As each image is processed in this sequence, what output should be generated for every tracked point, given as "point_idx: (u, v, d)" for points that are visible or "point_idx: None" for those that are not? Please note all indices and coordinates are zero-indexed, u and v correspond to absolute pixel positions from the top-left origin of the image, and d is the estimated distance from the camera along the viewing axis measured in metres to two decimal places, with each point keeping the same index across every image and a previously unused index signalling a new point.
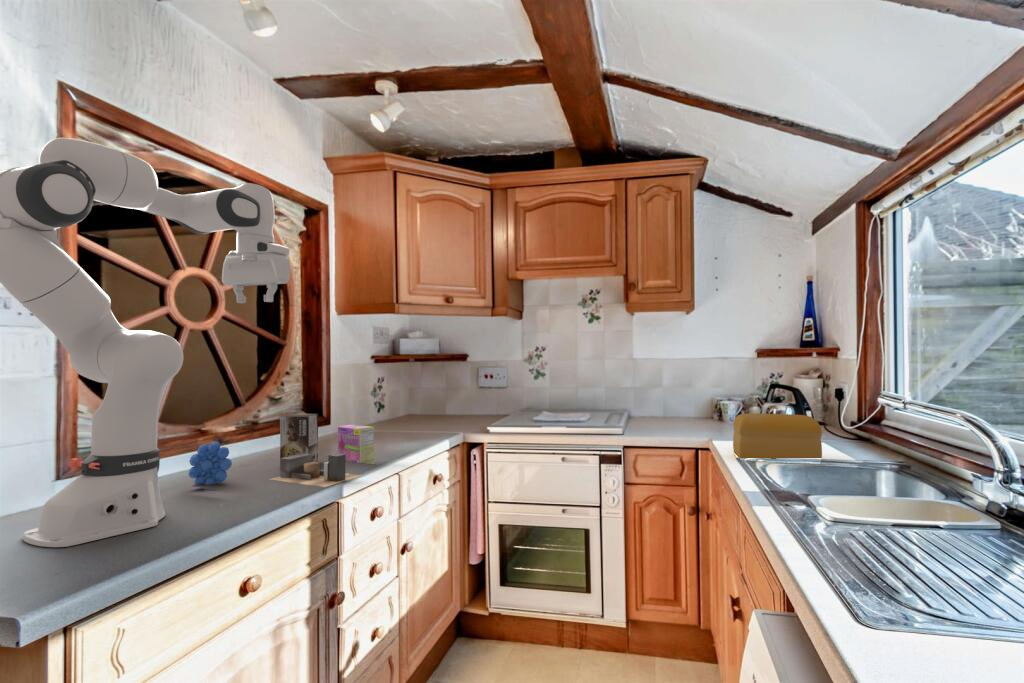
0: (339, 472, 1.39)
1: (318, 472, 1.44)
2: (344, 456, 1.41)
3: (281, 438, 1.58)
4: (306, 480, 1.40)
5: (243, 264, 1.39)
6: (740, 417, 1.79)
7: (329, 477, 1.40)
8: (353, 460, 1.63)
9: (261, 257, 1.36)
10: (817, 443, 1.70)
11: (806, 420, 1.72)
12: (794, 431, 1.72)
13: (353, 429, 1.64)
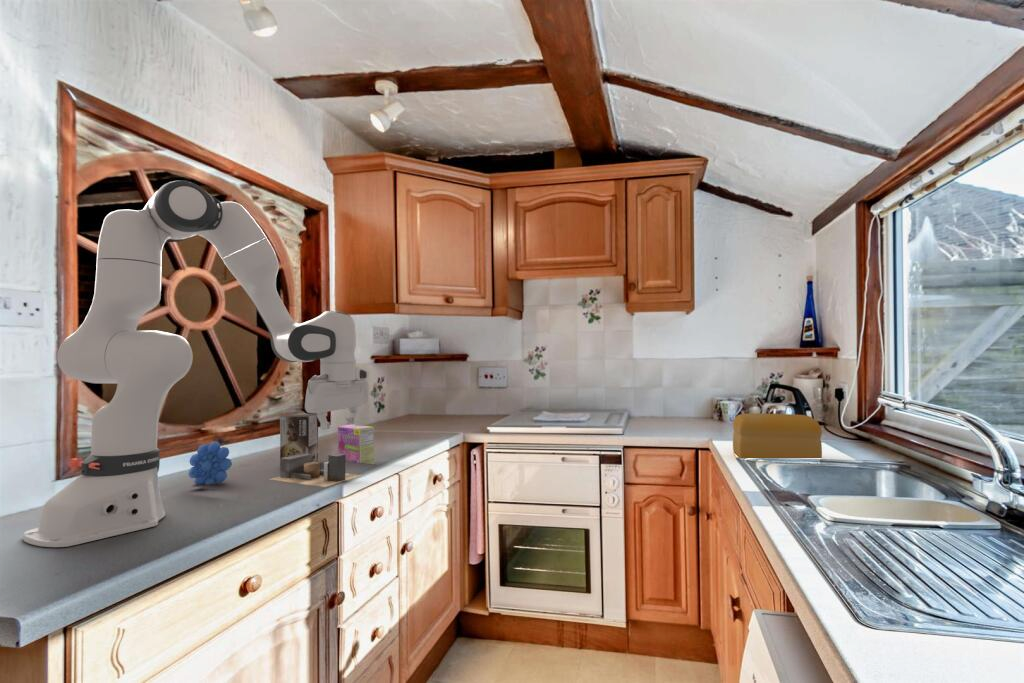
0: (339, 472, 1.39)
1: (318, 472, 1.44)
2: (344, 456, 1.41)
3: (281, 438, 1.58)
4: (306, 480, 1.40)
5: (336, 390, 1.38)
6: (740, 417, 1.79)
7: (329, 477, 1.40)
8: (353, 460, 1.63)
9: (358, 383, 1.45)
10: (817, 443, 1.70)
11: (806, 420, 1.72)
12: (794, 431, 1.72)
13: (353, 429, 1.64)
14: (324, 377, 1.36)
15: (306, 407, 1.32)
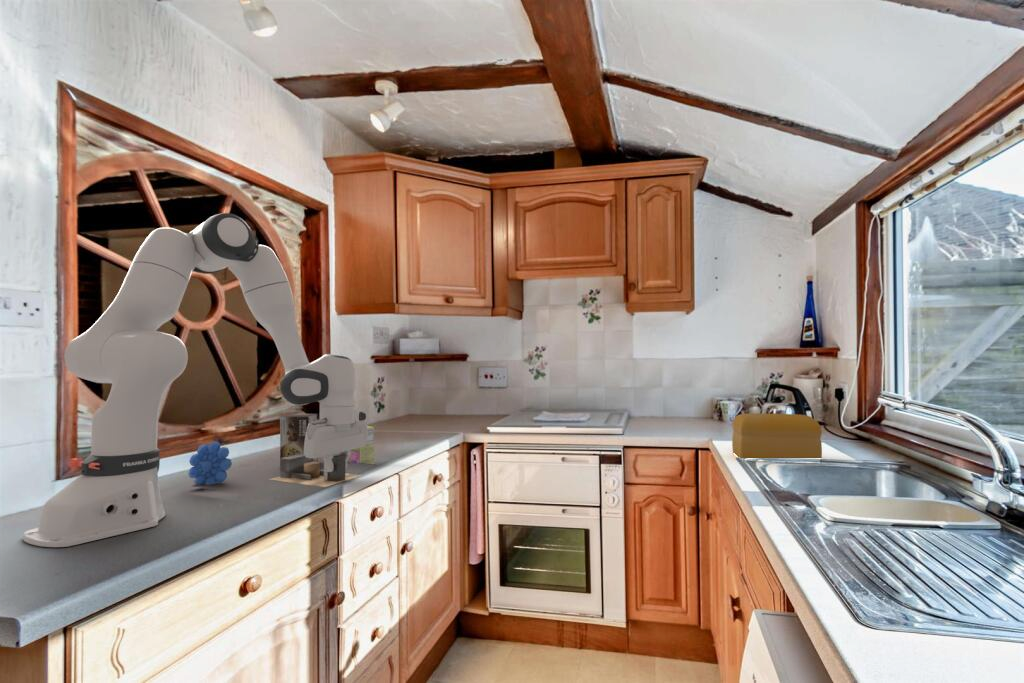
0: (339, 472, 1.39)
1: (318, 472, 1.44)
2: (344, 456, 1.41)
3: (281, 438, 1.58)
4: (306, 480, 1.40)
5: (335, 433, 1.38)
6: (741, 417, 1.79)
7: (329, 477, 1.40)
8: (353, 460, 1.63)
9: (357, 425, 1.44)
10: (818, 443, 1.71)
11: (806, 420, 1.73)
12: (794, 431, 1.72)
13: None
14: (323, 421, 1.36)
15: (305, 452, 1.32)
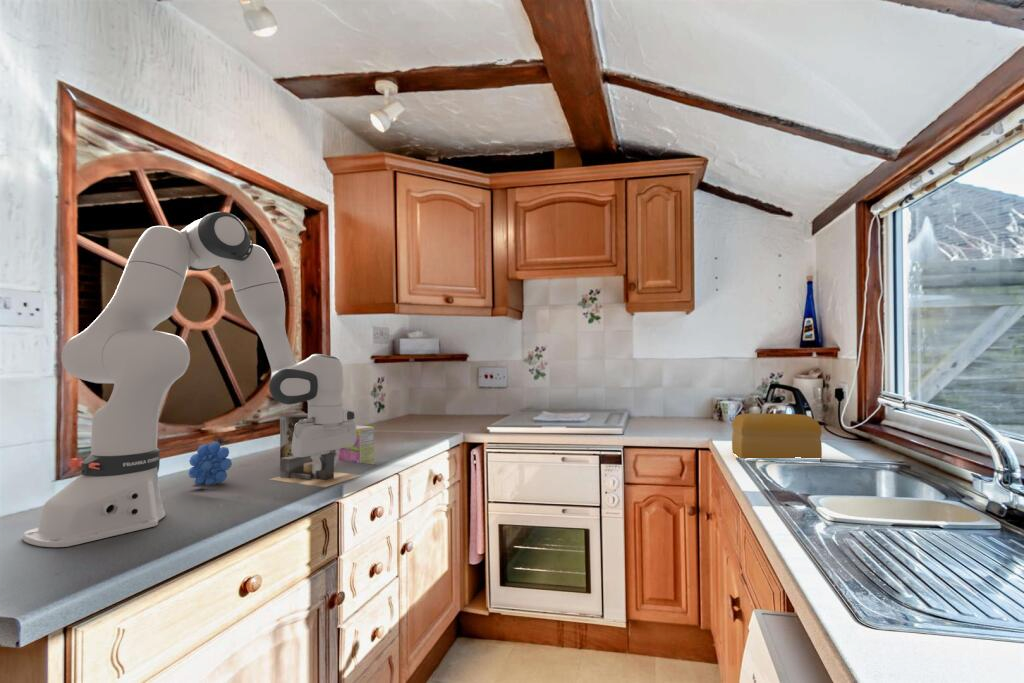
0: (327, 471, 1.41)
1: None
2: (332, 455, 1.43)
3: (281, 438, 1.58)
4: (306, 480, 1.40)
5: (323, 433, 1.40)
6: (741, 417, 1.79)
7: (317, 476, 1.41)
8: (353, 460, 1.63)
9: (345, 425, 1.46)
10: (818, 442, 1.71)
11: (806, 420, 1.73)
12: (795, 431, 1.72)
13: None
14: (311, 420, 1.37)
15: (292, 451, 1.34)
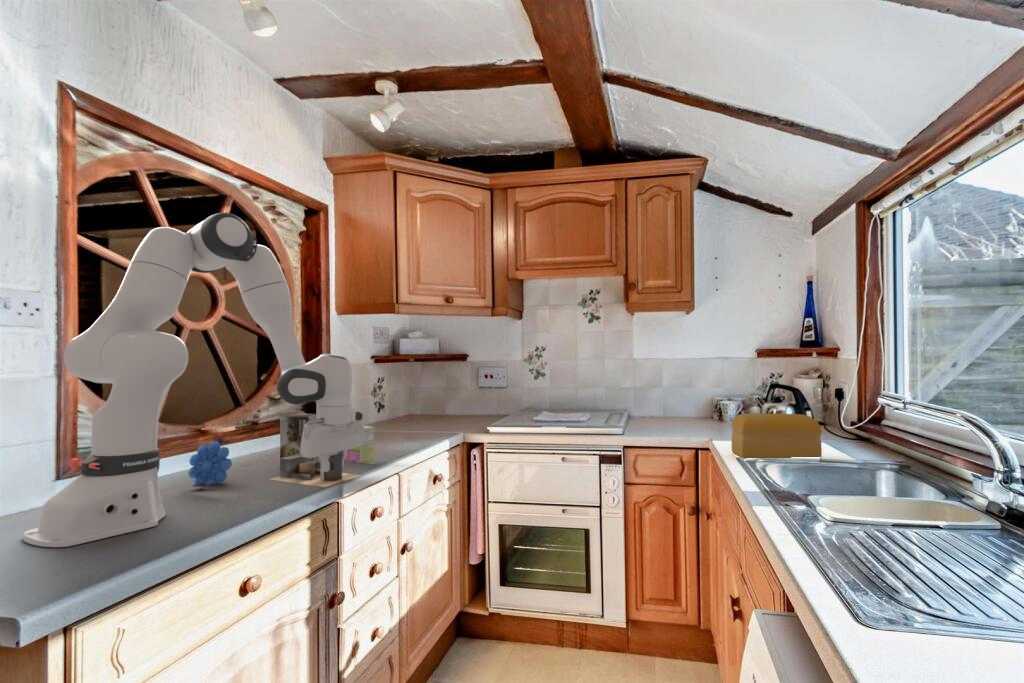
0: (335, 472, 1.40)
1: (313, 471, 1.44)
2: (341, 456, 1.42)
3: (281, 438, 1.58)
4: (306, 480, 1.40)
5: (332, 433, 1.39)
6: (741, 417, 1.79)
7: (326, 477, 1.40)
8: (353, 460, 1.63)
9: (354, 425, 1.45)
10: (817, 442, 1.72)
11: (806, 420, 1.74)
12: (795, 431, 1.73)
13: None
14: (320, 421, 1.36)
15: (301, 452, 1.32)
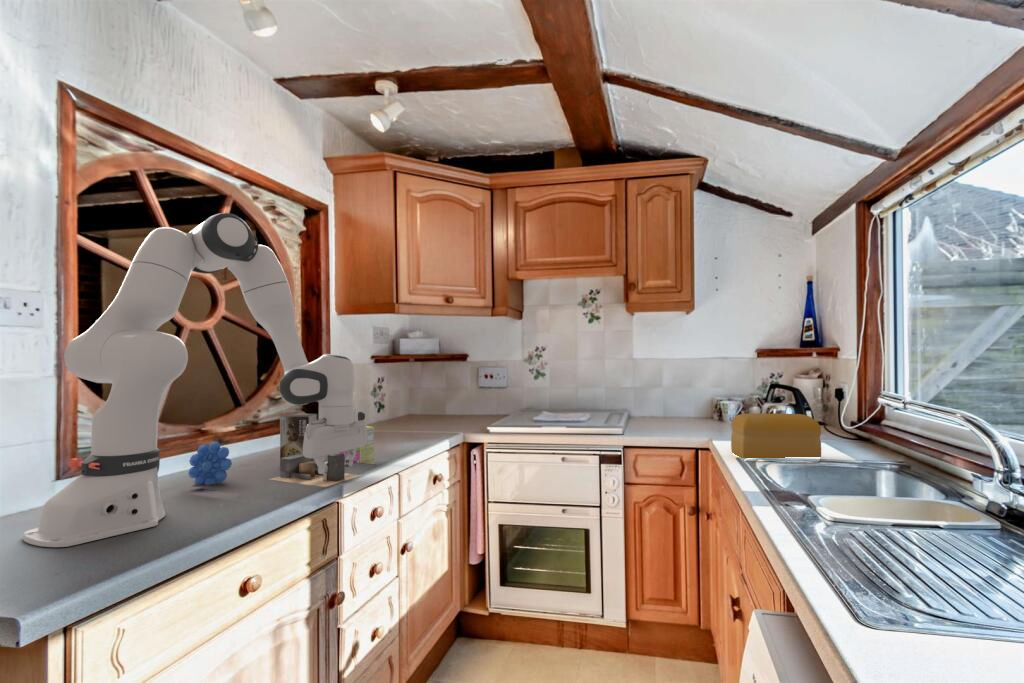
0: (338, 472, 1.39)
1: (313, 471, 1.44)
2: (343, 456, 1.41)
3: (281, 438, 1.58)
4: (306, 480, 1.40)
5: (334, 433, 1.38)
6: (742, 417, 1.79)
7: (328, 477, 1.40)
8: (353, 460, 1.63)
9: (356, 425, 1.44)
10: (817, 442, 1.73)
11: (806, 419, 1.74)
12: (795, 431, 1.73)
13: None
14: (322, 421, 1.36)
15: (304, 452, 1.32)
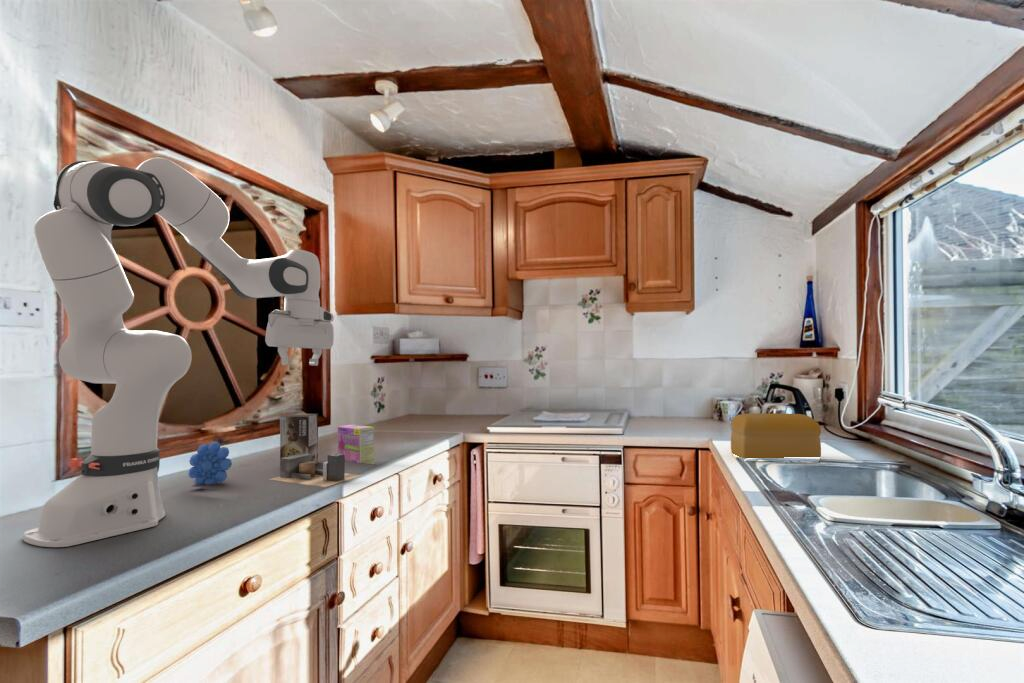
0: (338, 472, 1.39)
1: (313, 471, 1.44)
2: (343, 456, 1.41)
3: (281, 438, 1.58)
4: (306, 480, 1.40)
5: (298, 327, 1.40)
6: (742, 417, 1.79)
7: (328, 477, 1.40)
8: (353, 460, 1.63)
9: (322, 325, 1.46)
10: (817, 442, 1.73)
11: (805, 419, 1.75)
12: (795, 430, 1.73)
13: (353, 429, 1.64)
14: (286, 313, 1.37)
15: (266, 340, 1.34)
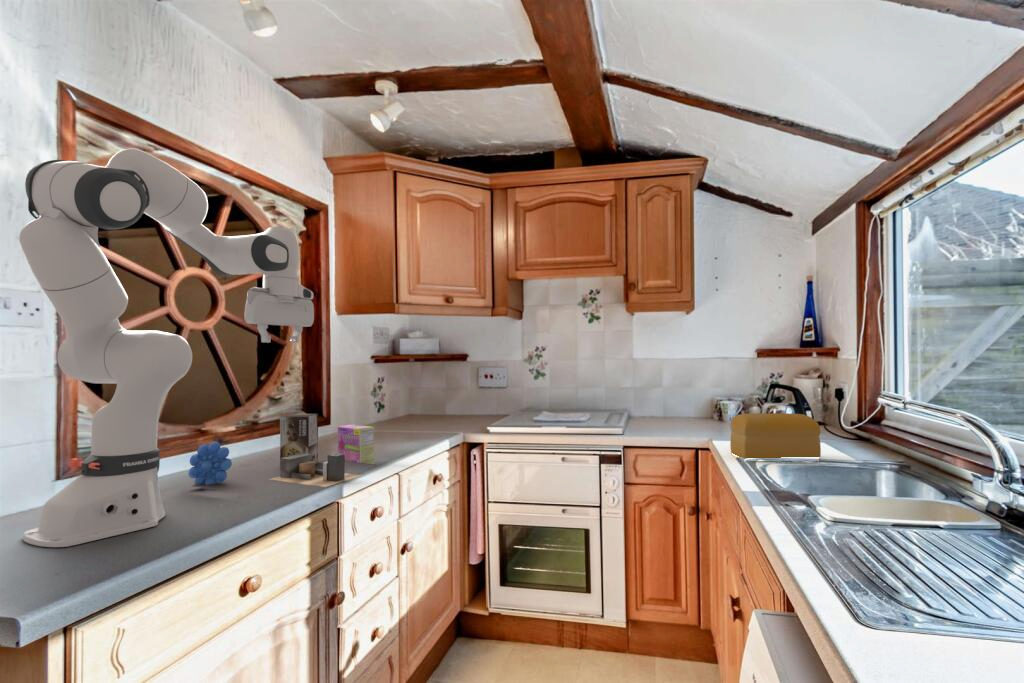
0: (338, 472, 1.39)
1: (313, 471, 1.44)
2: (343, 456, 1.41)
3: (281, 438, 1.58)
4: (306, 480, 1.40)
5: (278, 305, 1.40)
6: (742, 417, 1.78)
7: (328, 477, 1.40)
8: (353, 460, 1.63)
9: (302, 302, 1.46)
10: (817, 441, 1.74)
11: (805, 419, 1.75)
12: (796, 430, 1.74)
13: (353, 429, 1.64)
14: (265, 290, 1.38)
15: (245, 317, 1.34)
